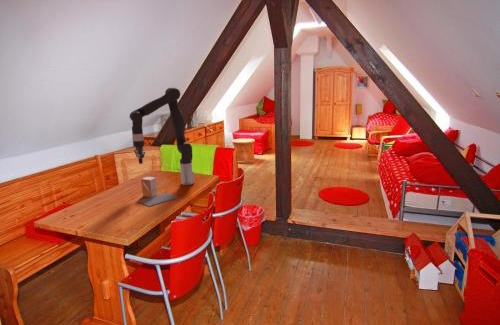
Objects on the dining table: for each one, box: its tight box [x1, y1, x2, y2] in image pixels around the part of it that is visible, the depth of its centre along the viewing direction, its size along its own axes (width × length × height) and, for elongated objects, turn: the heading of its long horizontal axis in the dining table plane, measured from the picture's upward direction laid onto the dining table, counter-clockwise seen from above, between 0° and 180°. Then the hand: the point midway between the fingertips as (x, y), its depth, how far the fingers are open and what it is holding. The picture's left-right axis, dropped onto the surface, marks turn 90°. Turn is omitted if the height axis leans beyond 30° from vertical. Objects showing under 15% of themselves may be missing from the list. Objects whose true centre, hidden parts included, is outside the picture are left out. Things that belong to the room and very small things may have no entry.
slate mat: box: [138, 192, 179, 208], centre depth 210 cm, size 22×14×1 cm, turn 134°
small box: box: [140, 176, 158, 198], centre depth 217 cm, size 8×6×13 cm
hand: (140, 163), depth 221 cm, fingers closed
